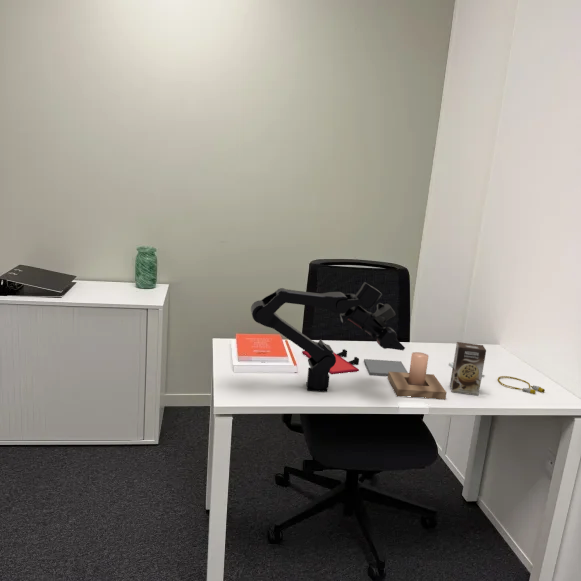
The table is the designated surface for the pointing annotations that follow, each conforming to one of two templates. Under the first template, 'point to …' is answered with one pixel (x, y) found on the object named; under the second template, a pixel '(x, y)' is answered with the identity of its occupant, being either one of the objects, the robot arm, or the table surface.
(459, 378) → the coffee box
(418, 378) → the plug
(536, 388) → the extension cord
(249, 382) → the table surface
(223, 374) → the table surface
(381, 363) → the mat
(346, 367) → the red board with handle
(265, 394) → the table surface
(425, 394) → the pocket board
